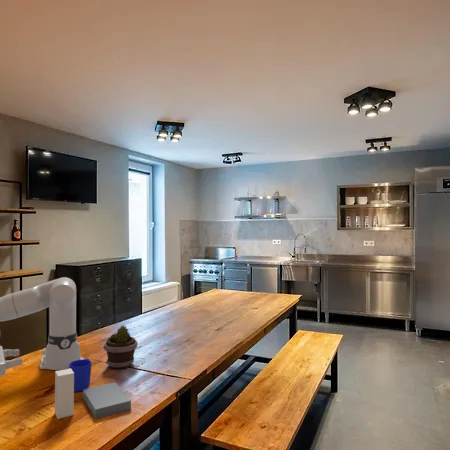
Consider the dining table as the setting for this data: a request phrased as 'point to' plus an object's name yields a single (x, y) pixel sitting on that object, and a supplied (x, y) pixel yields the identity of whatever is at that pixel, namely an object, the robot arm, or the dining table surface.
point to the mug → (81, 373)
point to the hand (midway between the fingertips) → (20, 356)
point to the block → (64, 393)
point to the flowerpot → (120, 349)
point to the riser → (106, 400)
